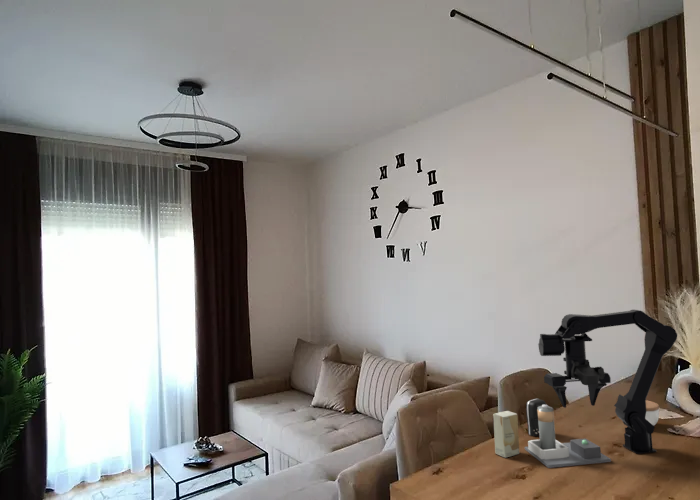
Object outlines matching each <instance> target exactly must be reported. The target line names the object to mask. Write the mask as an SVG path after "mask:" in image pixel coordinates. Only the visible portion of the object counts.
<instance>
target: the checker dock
mask: <svg viewBox="0 0 700 500" xmlns="http://www.w3.org/2000/svg"><path fill="white" fill-rule="evenodd" d="M555 440H556V449H546V450H542V449H541V448H540V438H539V439H530V440H528V441H527V445H528V446H524V450H525V451H526V452H528V453H529V454H530V455H531V456H533V457H534V458H535V459H536V460H537V461H539V462H540V463H541V464H543V465H544V466H545V467H546V468H547V469H553V468H561V467H571V466H581V465H582V466H583V465H590V464H591V465H592V464H602V463H611V462H612V458H610V457H608V456H607V455H605V454H603V453H602V452H601V446H599V445H598V444H596V443H594V442H593V441H591V440H589V439H588V438H576V439H569V442H560V441H559V440H557V439H556V438H555Z"/></svg>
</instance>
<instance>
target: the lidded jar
mask: <svg viewBox="0 0 700 500" xmlns="http://www.w3.org/2000/svg"><path fill="white" fill-rule="evenodd" d="M659 409H660V405H659V404H658V403H657V402H654V401H651V400H648V399H646V416H645V419H646V420H647V421H648V422H650V423H651V424H652V425H653V426H654V427H655V425H656V424H657V423H658V421H659V419H660V418H659V417H660V410H659Z"/></svg>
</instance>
